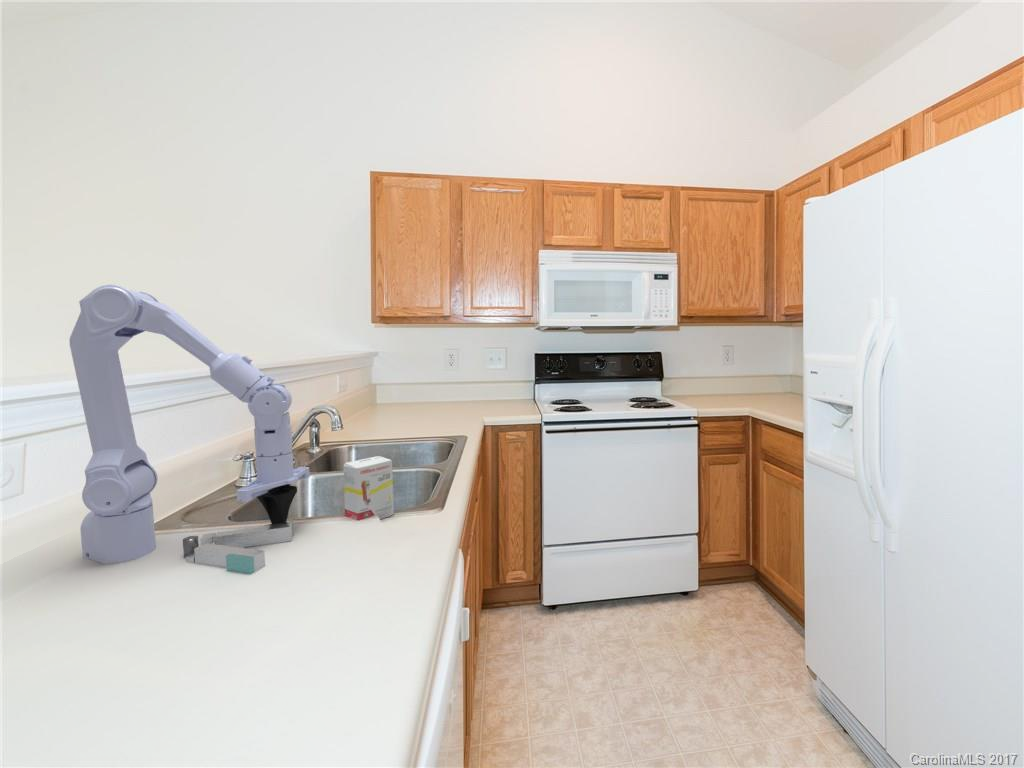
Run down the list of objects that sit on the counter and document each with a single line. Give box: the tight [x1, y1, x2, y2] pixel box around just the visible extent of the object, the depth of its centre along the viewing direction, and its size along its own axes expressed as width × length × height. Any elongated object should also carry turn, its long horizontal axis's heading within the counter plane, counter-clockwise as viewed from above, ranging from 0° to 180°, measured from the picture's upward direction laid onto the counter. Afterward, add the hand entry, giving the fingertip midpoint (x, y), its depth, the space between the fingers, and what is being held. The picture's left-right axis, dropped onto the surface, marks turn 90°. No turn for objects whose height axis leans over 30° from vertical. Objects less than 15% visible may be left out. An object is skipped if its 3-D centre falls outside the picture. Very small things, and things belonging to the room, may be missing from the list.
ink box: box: [343, 455, 395, 521], centre depth 90 cm, size 9×5×12 cm, turn 141°
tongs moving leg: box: [199, 520, 294, 548], centre depth 76 cm, size 13×3×2 cm, turn 110°
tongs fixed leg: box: [182, 535, 266, 575], centre depth 69 cm, size 16×4×3 cm, turn 74°
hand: (279, 528), depth 80 cm, fingers closed
